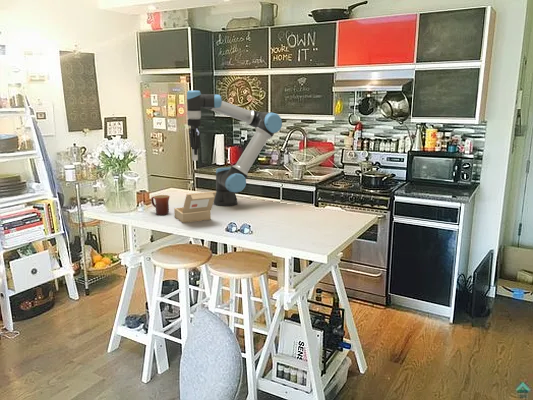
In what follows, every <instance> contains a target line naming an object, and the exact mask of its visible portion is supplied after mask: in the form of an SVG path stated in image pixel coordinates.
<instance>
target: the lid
mask: <svg viewBox="0 0 533 400" xmlns="http://www.w3.org/2000/svg"><path fill="white" fill-rule="evenodd" d="M215 195H216V191H205V192H204V191H203V192H197V193H195V192H194V193H186V196H185V199H184V203H183V207H184V208H183V212H182V213H183V214H184V213H193V212H202V211H210V212H211V211H212V209H213V205H214V198H215Z"/></svg>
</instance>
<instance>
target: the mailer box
mask: <svg viewBox="0 0 533 400" xmlns="http://www.w3.org/2000/svg"><path fill="white" fill-rule="evenodd" d="M183 208H184V206H183V207H174V218H175V219H177V220H178V221H179V222H181V224H186V223H194V222H201V221H202V220H204V221H210V220H211V215H212V214H211V211H202V212H193V213H184V214H183V213H182V212H183ZM202 222H203V221H202Z"/></svg>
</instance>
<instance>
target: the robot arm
mask: <svg viewBox="0 0 533 400" xmlns="http://www.w3.org/2000/svg"><path fill="white" fill-rule="evenodd" d="M186 92H187V93H186V105H187V106H186V108H187V111H186V115H187V126H190V129H189V130H188V135H189V143H190V148H191V152H192V153H191V154H192V155H191V158H192V162H196V161H197V162H198V160H199V154H198V152H199V151H198V149H200V141H201V131H200V129H199V127H201V126H202V119H201V118H202V109H206V110H209V111H213V112H216V113H219V114H220V115H224V116H227V117H230V118H231V119H232V118H233V119H236V120H238V121H242V122H244V123H246V125H248V126H250V127H253V128H254V129H255V133H253V135H252V137H251V139H249V140H250V141H249V142H248V143H247V146H246V147H245V149H244V151H243V152H242V153H241V156H239V157H238V158H239V159H238V160H237V162H236V164H234V165H231V166H230V167H217V168H216V169H215V190H216V195H215V198H214V202H213V205H216V206H219V207H230V206H232V207H233V206H235V205H238V197H237V194H236V193H240V192H242V191H243V190H244V189H245V188H246V186H247V180H248V179H247V178H248V177H249V175H248V172H249V171H250V169H251V168H252V166H253V164H254V163H255V161H256V159H257V158H258V156H259V154H260V153H261V151H262V149H263V148H264V146H265V145H266V143H267V141H268V140H269V139H272V138H273V136H274V135H275V133H278V132H279V131H281V129H282V126H283V121H282V117H281V116H280V115H279V114H278V113H275V112H267V111H259V110H258V111H257V110H254V109H251V110H249V109H247V108H244V107H241V106H238V105H235V104H232V103H229V102H227V101H224V100H222V96H221V95H220V94H216V93H215V94H211V93H210V94H208V93H206V94H204V93H203V94H202V93H201V91H200V90H191V89H190V90H188V91H186Z"/></svg>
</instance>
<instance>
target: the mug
mask: <svg viewBox="0 0 533 400" xmlns="http://www.w3.org/2000/svg"><path fill="white" fill-rule="evenodd" d="M170 197H171V196H170V195H168V194H158V195H157V194H156V195H154V196H152V197H150V201H151V204H152V206H153V207H154V208H155V214H156V215H157V216H166V215H168V214H169V212H170V207H169V206H170V205H169V201H170Z"/></svg>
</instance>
